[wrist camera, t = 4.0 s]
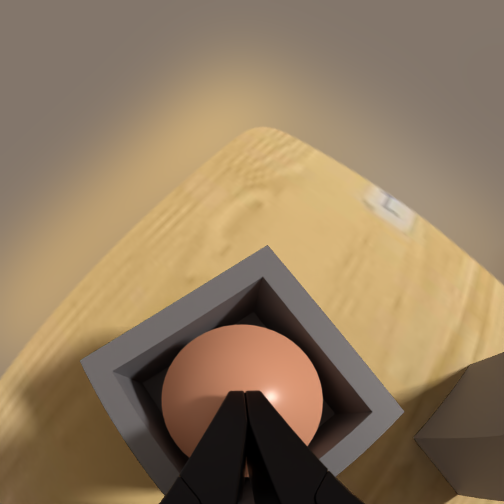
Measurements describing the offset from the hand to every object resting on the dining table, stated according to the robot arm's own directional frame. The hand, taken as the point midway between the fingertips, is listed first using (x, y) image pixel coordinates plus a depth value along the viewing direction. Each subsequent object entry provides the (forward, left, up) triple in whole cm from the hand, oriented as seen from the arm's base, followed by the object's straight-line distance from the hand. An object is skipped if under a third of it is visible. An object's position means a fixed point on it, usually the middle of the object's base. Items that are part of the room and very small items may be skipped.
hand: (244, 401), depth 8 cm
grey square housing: (0, 0, -9) cm, 9 cm away
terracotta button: (0, 0, -3) cm, 3 cm away
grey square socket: (+10, -12, -9) cm, 19 cm away
